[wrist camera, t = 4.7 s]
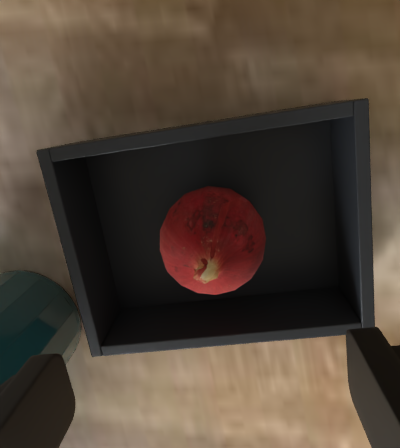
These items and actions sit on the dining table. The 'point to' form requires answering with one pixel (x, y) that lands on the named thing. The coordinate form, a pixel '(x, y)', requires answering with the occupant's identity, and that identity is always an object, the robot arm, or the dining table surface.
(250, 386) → the dining table surface
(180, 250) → the onion
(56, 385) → the robot arm
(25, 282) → the cup
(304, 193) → the black open box
